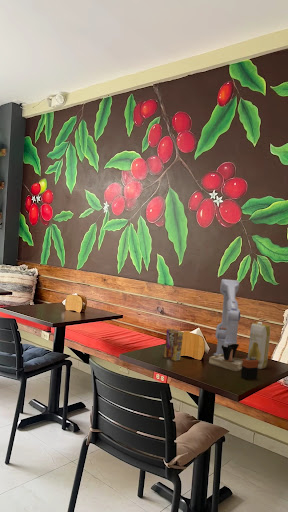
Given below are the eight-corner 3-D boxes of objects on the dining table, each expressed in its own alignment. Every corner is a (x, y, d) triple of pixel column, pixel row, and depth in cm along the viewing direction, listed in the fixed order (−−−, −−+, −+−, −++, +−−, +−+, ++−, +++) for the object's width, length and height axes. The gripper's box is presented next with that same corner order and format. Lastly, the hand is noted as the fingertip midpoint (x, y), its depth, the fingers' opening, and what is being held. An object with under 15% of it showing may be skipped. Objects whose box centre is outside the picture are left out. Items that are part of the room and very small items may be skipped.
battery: (257, 379, 202) (259, 358, 202) (246, 380, 199) (248, 359, 198) (250, 376, 206) (252, 356, 205) (240, 377, 202) (242, 356, 202)
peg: (226, 363, 224) (227, 348, 224) (232, 364, 222) (234, 349, 222) (223, 364, 221) (224, 349, 221) (229, 365, 219) (231, 350, 219)
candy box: (181, 360, 223) (183, 331, 223) (175, 361, 220) (177, 332, 220) (169, 356, 230) (172, 328, 230) (163, 356, 227) (166, 328, 227)
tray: (221, 360, 232) (221, 353, 231) (247, 367, 221) (248, 360, 221) (208, 363, 222) (209, 357, 221) (236, 371, 211) (237, 364, 211)
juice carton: (245, 365, 225) (249, 320, 225) (252, 363, 231) (256, 320, 231) (261, 370, 219) (265, 324, 218) (268, 367, 225) (272, 323, 224)
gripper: (229, 329, 229) (226, 354, 230) (219, 333, 217) (216, 359, 217) (241, 332, 226) (239, 357, 226) (232, 335, 213) (229, 362, 214)
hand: (229, 358), depth 221 cm, fingers open, 7 cm apart
